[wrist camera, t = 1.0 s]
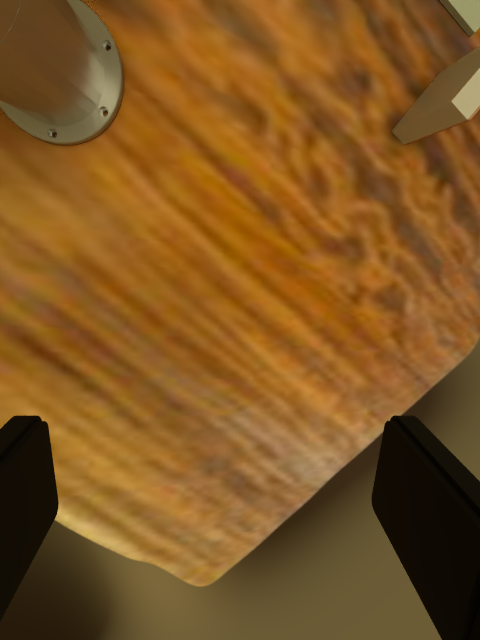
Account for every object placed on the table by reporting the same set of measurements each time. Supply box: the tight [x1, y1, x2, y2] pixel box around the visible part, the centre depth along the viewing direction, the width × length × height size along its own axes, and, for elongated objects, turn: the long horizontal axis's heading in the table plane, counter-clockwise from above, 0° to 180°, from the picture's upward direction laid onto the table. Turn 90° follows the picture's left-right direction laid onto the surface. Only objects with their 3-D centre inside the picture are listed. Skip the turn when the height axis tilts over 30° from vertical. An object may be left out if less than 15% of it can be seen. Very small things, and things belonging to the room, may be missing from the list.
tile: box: [391, 46, 480, 144], centre depth 32 cm, size 2×7×10 cm, turn 141°
